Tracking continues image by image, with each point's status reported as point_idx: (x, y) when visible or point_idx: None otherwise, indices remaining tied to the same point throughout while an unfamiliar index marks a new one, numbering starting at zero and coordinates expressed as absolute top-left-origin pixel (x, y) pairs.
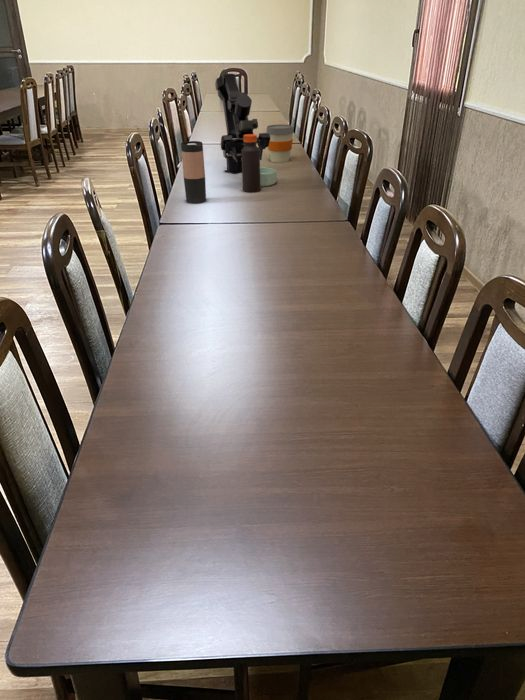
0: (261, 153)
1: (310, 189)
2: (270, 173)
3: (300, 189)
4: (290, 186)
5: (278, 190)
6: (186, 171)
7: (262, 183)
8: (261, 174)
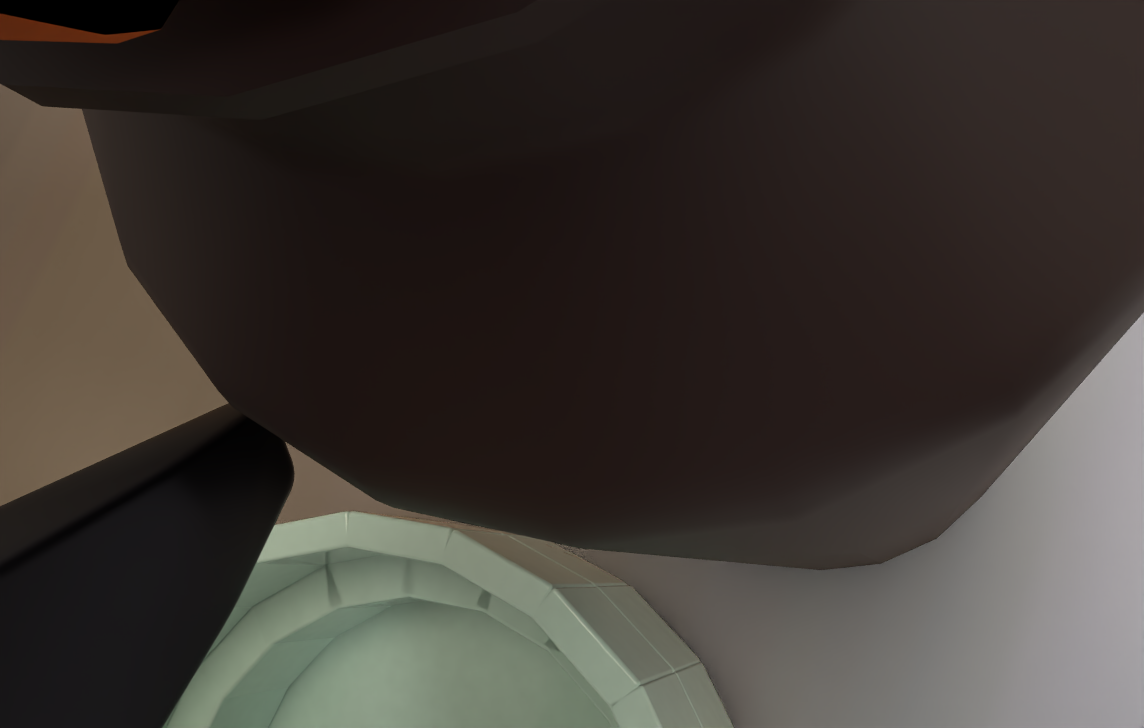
0: (62, 496)
1: (38, 129)
2: None
3: None
4: (157, 387)
5: None
6: None
7: (522, 536)
8: (461, 533)
